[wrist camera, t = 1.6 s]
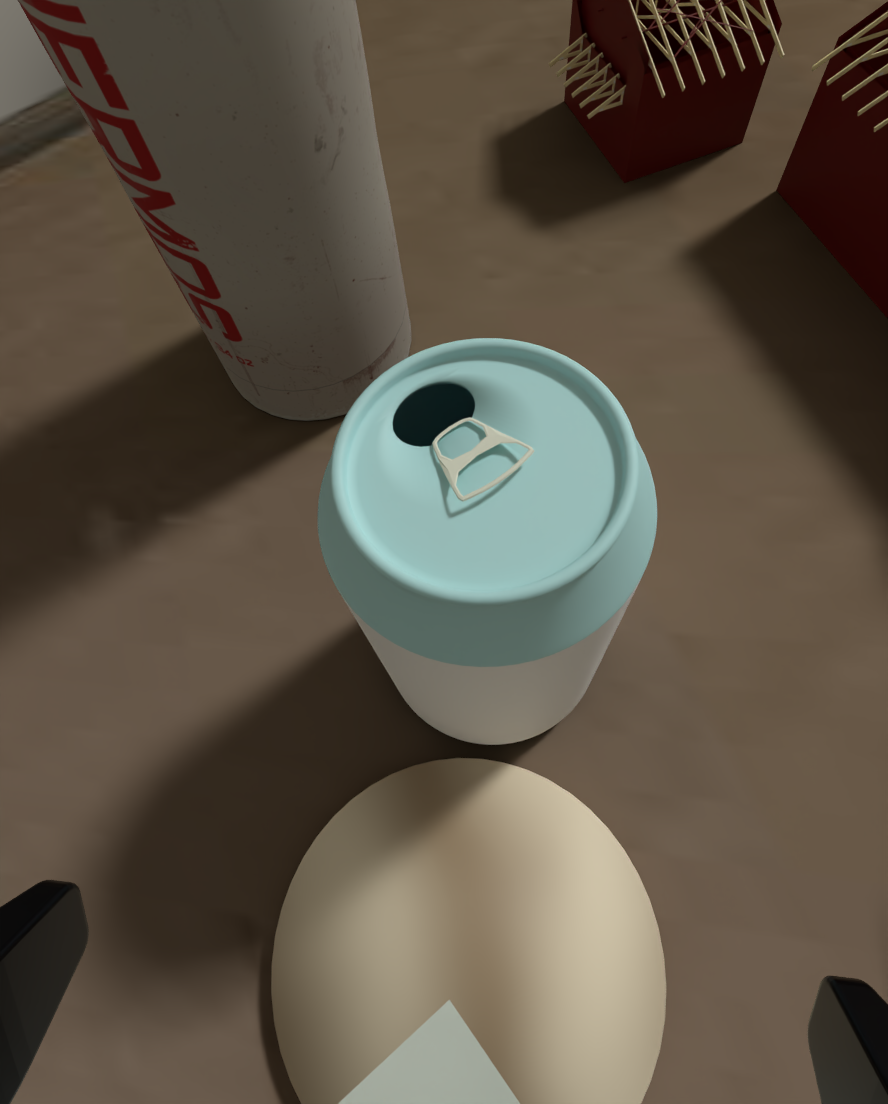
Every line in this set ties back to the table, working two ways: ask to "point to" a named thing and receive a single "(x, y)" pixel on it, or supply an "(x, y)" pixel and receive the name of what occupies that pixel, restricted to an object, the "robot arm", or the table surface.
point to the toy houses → (739, 108)
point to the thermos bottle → (250, 179)
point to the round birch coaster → (470, 938)
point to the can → (488, 531)
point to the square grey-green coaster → (435, 1069)
